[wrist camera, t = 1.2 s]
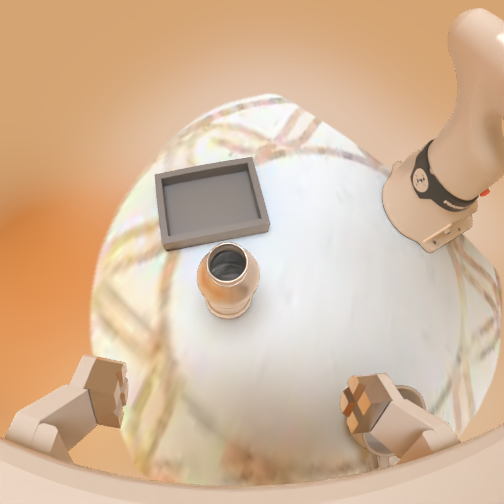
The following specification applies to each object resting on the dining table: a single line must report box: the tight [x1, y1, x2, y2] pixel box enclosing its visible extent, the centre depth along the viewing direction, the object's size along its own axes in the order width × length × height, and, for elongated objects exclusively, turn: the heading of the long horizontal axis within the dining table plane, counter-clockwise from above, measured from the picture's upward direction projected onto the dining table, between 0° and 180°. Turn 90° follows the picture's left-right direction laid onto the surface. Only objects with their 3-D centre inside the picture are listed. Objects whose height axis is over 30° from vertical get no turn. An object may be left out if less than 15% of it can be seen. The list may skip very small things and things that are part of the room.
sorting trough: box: [155, 157, 270, 251], centre depth 48 cm, size 16×12×4 cm
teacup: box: [351, 385, 426, 471], centre depth 37 cm, size 14×11×8 cm
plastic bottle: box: [197, 242, 260, 319], centre depth 36 cm, size 6×7×20 cm
